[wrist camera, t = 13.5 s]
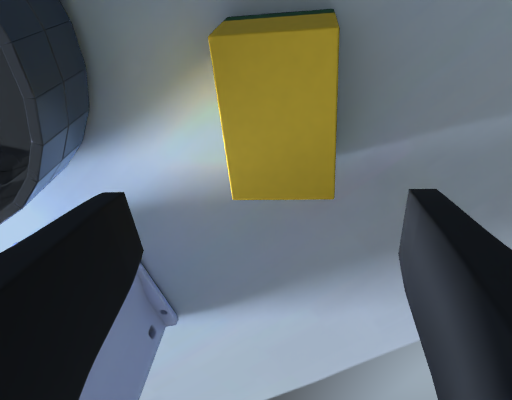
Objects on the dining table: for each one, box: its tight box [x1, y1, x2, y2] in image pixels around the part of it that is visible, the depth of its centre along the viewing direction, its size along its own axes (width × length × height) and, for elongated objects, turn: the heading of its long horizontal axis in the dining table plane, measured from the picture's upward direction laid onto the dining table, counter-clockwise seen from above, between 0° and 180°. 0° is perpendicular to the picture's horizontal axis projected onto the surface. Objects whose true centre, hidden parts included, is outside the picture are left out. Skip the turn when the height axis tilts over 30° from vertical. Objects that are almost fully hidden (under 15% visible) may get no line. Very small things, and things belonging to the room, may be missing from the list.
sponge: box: [208, 9, 340, 200], centre depth 16 cm, size 7×4×4 cm, turn 5°
